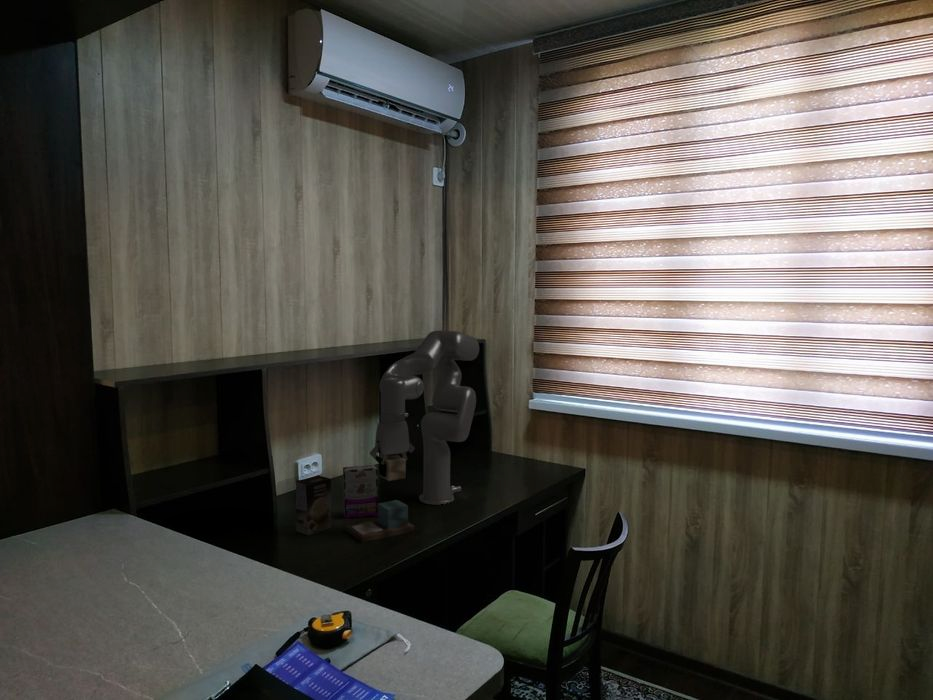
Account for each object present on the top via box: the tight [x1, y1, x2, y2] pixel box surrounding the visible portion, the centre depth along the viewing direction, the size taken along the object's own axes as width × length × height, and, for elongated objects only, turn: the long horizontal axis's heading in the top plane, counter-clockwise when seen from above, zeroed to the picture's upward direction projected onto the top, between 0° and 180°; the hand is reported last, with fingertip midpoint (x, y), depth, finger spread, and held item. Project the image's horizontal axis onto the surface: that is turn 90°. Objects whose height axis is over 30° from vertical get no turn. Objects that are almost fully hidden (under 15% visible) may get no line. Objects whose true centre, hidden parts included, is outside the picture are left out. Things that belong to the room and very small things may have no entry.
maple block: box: [379, 454, 407, 482], centre depth 211 cm, size 6×6×6 cm
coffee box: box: [295, 475, 332, 536], centre depth 210 cm, size 9×6×16 cm
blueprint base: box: [344, 499, 416, 544], centre depth 211 cm, size 18×12×8 cm, turn 125°
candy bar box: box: [342, 464, 379, 520], centre depth 224 cm, size 11×5×16 cm, turn 105°
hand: (392, 473), depth 212 cm, fingers closed on maple block, 6 cm apart
